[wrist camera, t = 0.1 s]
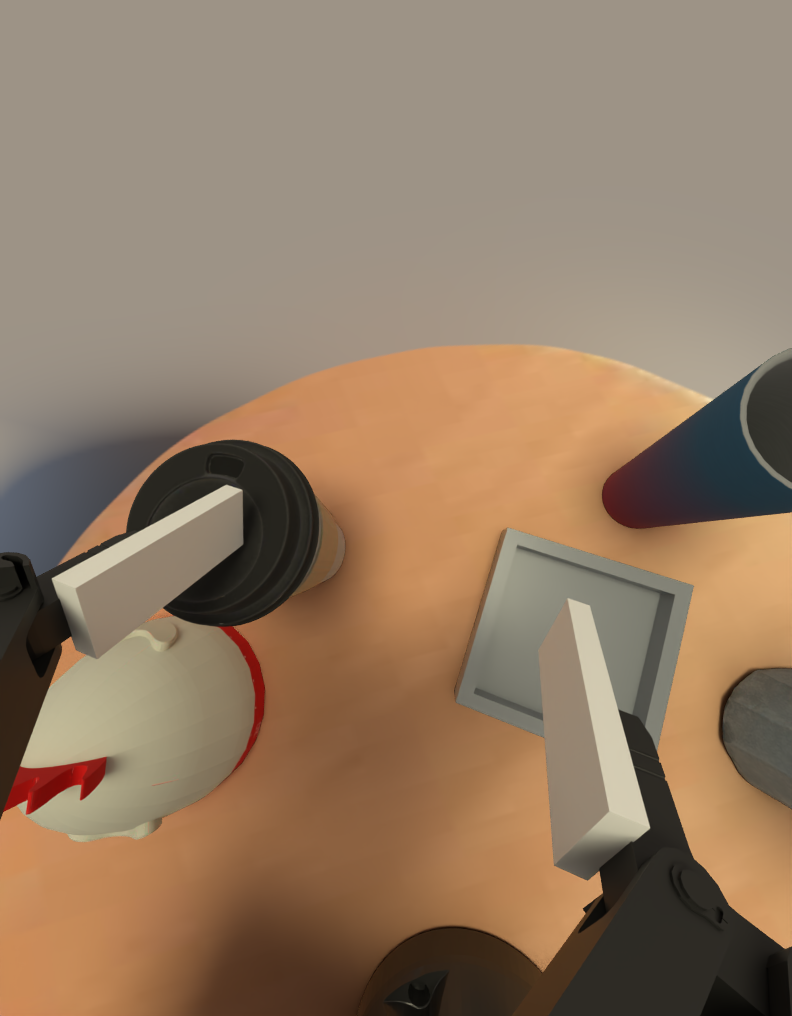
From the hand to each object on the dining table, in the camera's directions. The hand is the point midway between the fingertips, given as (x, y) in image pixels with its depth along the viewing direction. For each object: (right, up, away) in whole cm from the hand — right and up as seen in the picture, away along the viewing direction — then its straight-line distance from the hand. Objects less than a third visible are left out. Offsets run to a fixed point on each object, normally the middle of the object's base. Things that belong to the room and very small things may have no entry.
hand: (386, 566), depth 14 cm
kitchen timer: (-17, -14, +16) cm, 27 cm away
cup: (+19, +3, +15) cm, 25 cm away
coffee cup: (-7, -1, +17) cm, 18 cm away
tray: (+13, -8, +13) cm, 20 cm away
